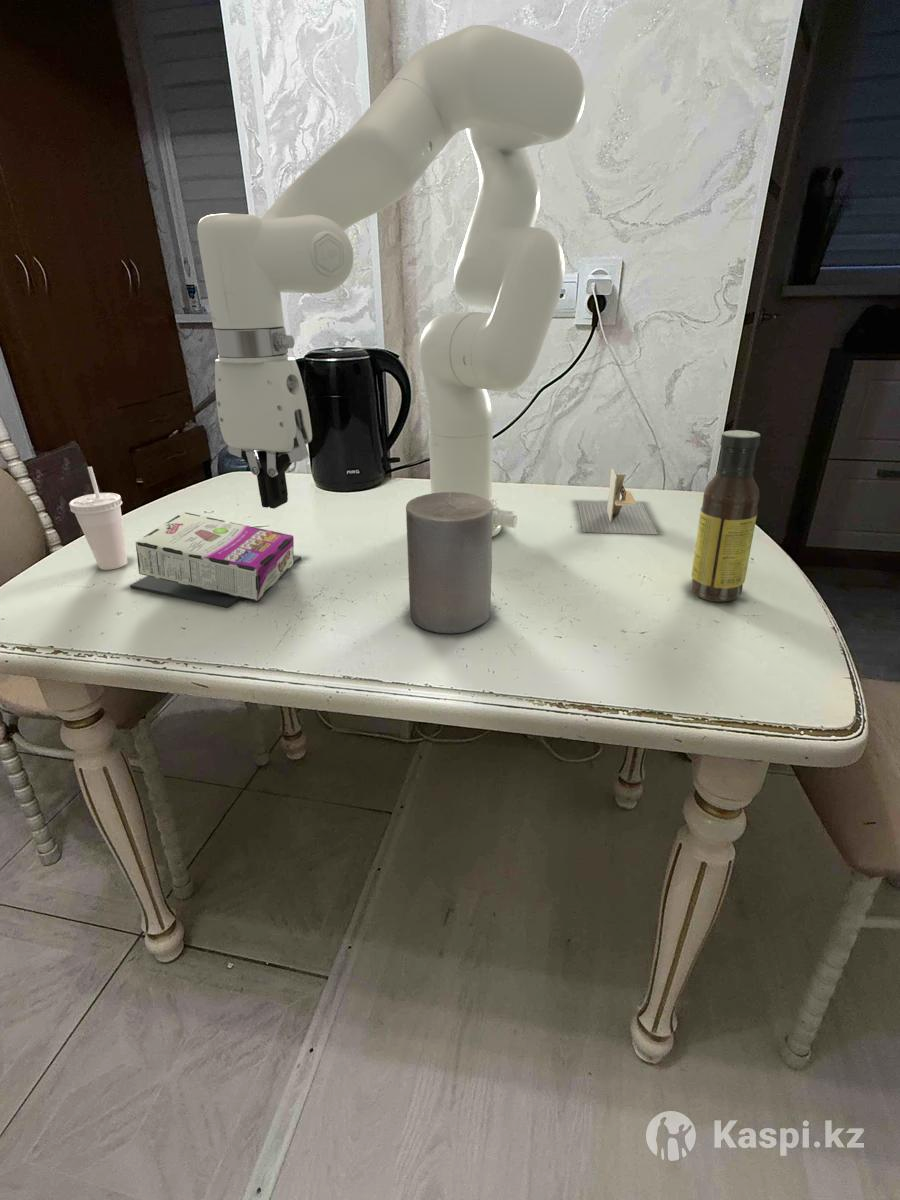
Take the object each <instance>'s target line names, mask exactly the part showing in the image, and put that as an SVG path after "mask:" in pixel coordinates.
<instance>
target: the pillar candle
mask: <svg viewBox="0 0 900 1200" xmlns="http://www.w3.org/2000/svg"><path fill="white" fill-rule="evenodd" d="M493 508H494V506H493V505H492V503H491V502H490V501H489V500H488V499H486V498H484V497H481V496H479V495H476V494H470V493H462V492H441V493H432V494H431V493H426V494H423V495H419V496H416V497H414V498H411V499H410V500H409V501H408V502H407V503H406V505H405V513H406V514H405V515H406V518H405V519H406V520H405V521H406V543H407V569H408V596H409V615H410V619H411V621H412V622H413V623H414V624H415V625H417V626H418V627H420V628H421V629H424V630H426V631H429V632H432V633H433V632H434V633H439V634H461V633H467V632H469V631H471V630H473V629H475V628H477V627H479V626H481V625H483V624H485V623H486V622H488V620H489V618H490V616H491V606H492V603H491V602H492V601H491V599H492V598H491V597H492V573H493V571H492V570H493V569H492V568H493V537H492V511H493Z"/></svg>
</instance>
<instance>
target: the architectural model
mask: <svg viewBox="0 0 900 1200" xmlns="http://www.w3.org/2000/svg"><path fill="white" fill-rule="evenodd" d="M610 469H611V470H610V479H609V487H608V488H609V491H608V497H607V498H608V499H607V502H606V501H577V506H578V512H579V516H580V521H581V526H582V530H583V533H595V534H596V533H598V534H599V533H600V534H631V535H633V534H636V535H658V532H657V529H656V528H655V526H654V524H653V522H652V520H651V518H650V515H649V514H648V512H647V510H646V507H645V506H644V504H643V502H636V500H635V498H634V496H633V494H632V492H631V490H626V488H625V485H624V482H625V478H626V475H627V474H626V473H616V472H615V469H614V468H610Z"/></svg>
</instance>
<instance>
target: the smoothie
mask: <svg viewBox="0 0 900 1200" xmlns="http://www.w3.org/2000/svg"><path fill="white" fill-rule="evenodd" d="M87 471H88V475H89V478H90V481H91V486H92V489H93V492H94V493H90V494H85V495H82V496H78V497H76V498H74V499H72V500H70V502H68V506H69V508H70V509H69V511H70V512H71V513H73V514H74V515H75V517H76V520H77V522H78V524H79V526H80V528H81V531H82V533H83V535H84V537H85V540H86V542H87V544H88V546H89V549H90V551H91V552H92V555H93V557H94V559H95V561H96V563H97V565H98V568H99V569H100V570H105V571H108V570H109V571H111V570H115V569H119V568H120V569H121V568H122V567H124V566H126V565H127V564H128V555H127V548H126V540H125V532H124V531H125V530H124V524H123V516H122V507H121V506H122V505H123V501H122V497H121V495H120V494H119V493H114V492H100V490H99V487H98V484H97V480H96V476H95V473H94V469H93V466H87Z"/></svg>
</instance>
